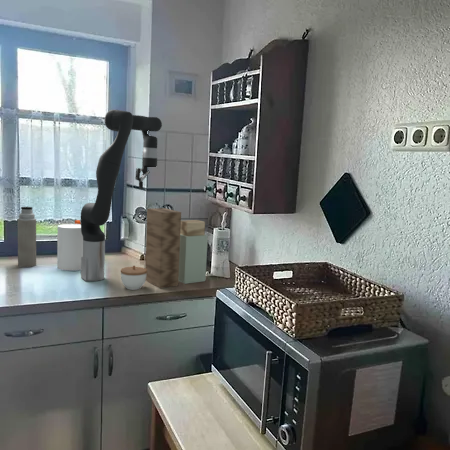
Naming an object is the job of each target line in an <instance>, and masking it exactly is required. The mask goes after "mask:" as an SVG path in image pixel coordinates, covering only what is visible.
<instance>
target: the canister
mask: <svg viewBox="0 0 450 450" xmlns="http://www.w3.org/2000/svg"><path fill="white" fill-rule="evenodd" d="M56 239H57V242H56V243H57V246H56V247H57V257H56V258H57V260H56V261H57V263H56V266H57V269H58V270H61V271H81V257H83V235H82V233H81V224H75V223H63V224H58V225H57V238H56Z"/></svg>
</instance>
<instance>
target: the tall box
mask: <svg viewBox="0 0 450 450" xmlns="http://www.w3.org/2000/svg"><path fill="white" fill-rule="evenodd" d="M146 213H147V214H146V233H145V234H146V235H145V236H146V237H145V265H144V266H145V267H144V268H145V269H147V276H146V281H145V282H148V283H150V284H151V285H153V286H155V287H156V288H158V289H163V288H169V287H178V286H179V281H178V277H179V254H180V230H181V221H182V211H178V210H174V209H169V208H166V207H165V208H164V207H161V208H159V207H158V208H147V209H146Z"/></svg>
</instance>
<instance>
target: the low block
mask: <svg viewBox="0 0 450 450" xmlns="http://www.w3.org/2000/svg"><path fill="white" fill-rule="evenodd" d="M208 237H209V236H208V235H207V234H204V235H199V236H185V235H182V234H180V254H179V277H178V282H179V283H182V284H184V285H186V284H193V283H200V282H205V281H206V279H207V277H206V275H207V260H208V259H207V258H208V256H207V255H208V242H209V241H208Z"/></svg>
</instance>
